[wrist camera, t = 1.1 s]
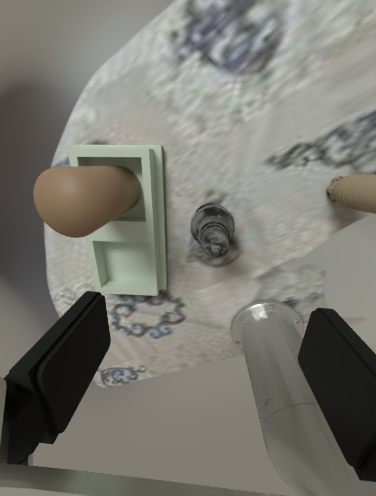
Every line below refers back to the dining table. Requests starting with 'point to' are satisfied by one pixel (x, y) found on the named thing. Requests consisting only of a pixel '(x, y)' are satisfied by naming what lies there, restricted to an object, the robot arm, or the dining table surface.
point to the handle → (355, 191)
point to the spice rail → (131, 230)
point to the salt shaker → (212, 229)
